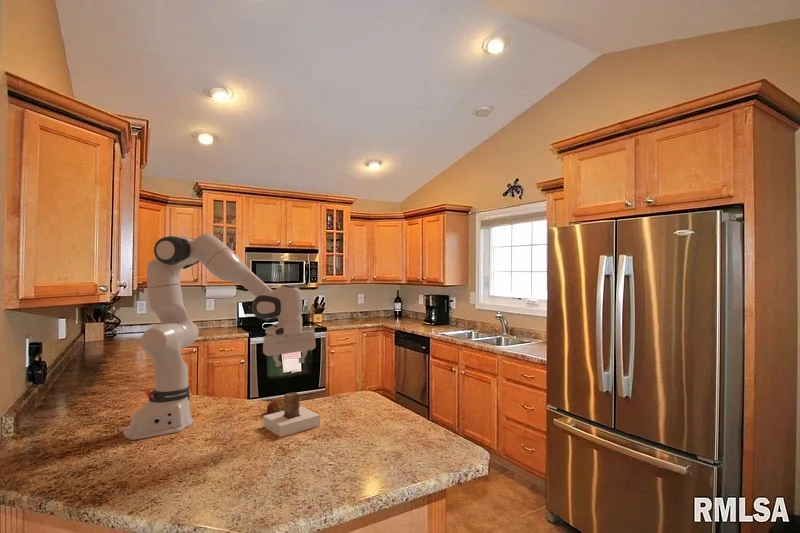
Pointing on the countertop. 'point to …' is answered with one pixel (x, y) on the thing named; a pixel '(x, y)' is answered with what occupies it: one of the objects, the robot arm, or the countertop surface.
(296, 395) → the walnut peg
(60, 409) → the countertop surface
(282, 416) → the socket block
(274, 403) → the bread roll
